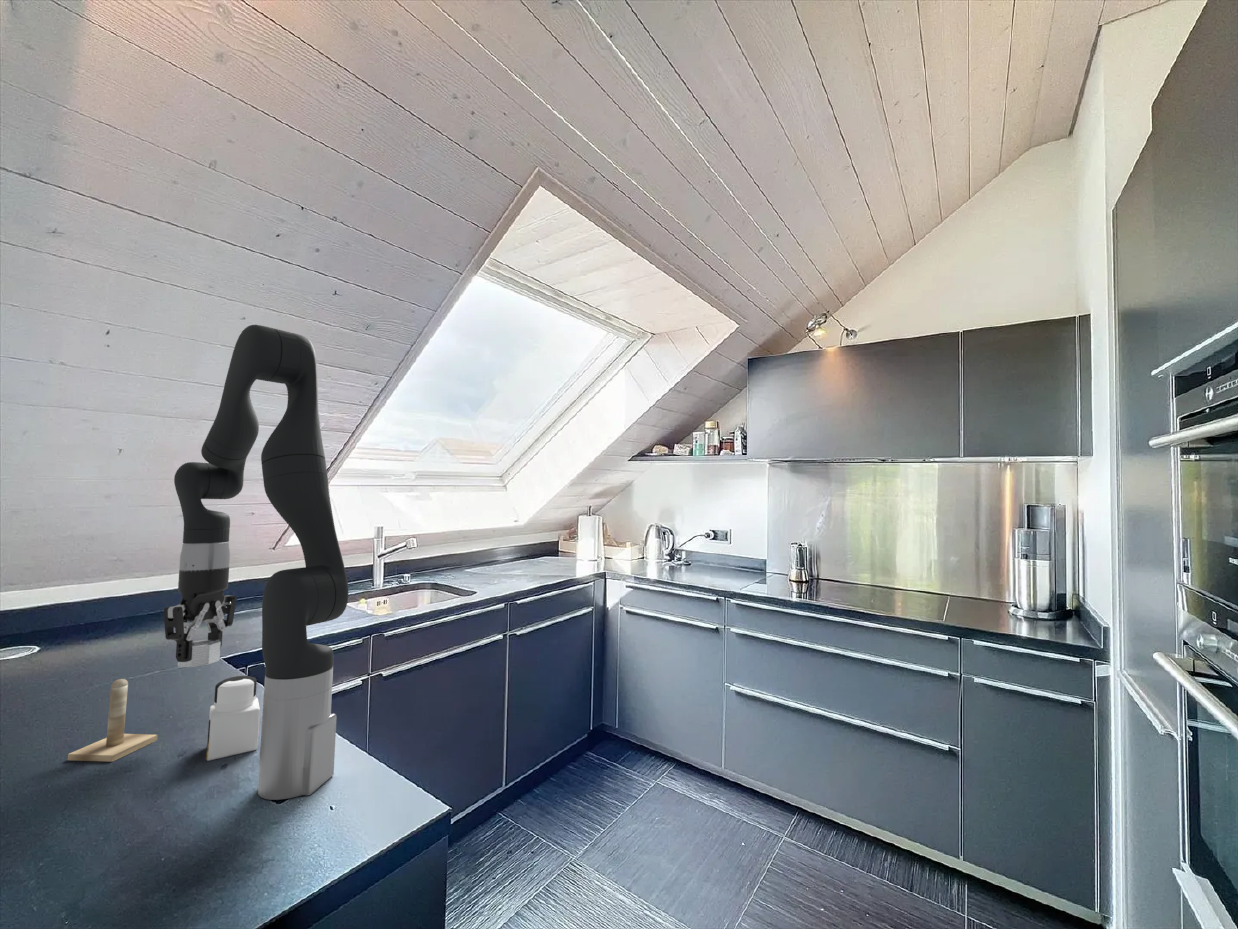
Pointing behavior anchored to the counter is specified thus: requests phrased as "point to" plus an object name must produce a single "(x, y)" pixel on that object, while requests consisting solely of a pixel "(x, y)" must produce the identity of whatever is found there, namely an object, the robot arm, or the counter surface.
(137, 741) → the post stand
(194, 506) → the robot arm
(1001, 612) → the counter surface
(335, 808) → the counter surface
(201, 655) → the ring
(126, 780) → the counter surface
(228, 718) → the medicine bottle
